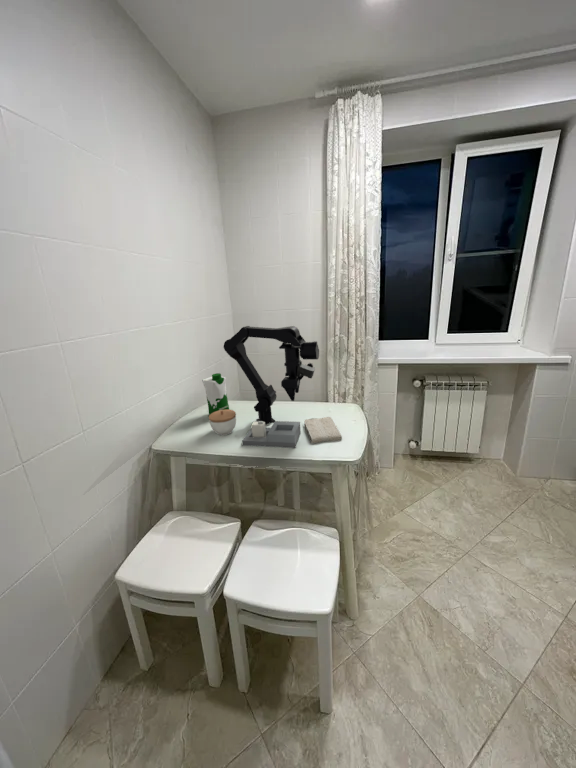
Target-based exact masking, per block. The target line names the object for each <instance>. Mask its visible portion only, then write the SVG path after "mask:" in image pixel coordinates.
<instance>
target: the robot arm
mask: <svg viewBox="0 0 576 768" xmlns="http://www.w3.org/2000/svg"><path fill="white" fill-rule="evenodd" d="M249 338H255V339H256V338H260V339H271V340H276V341H277V342H281V345H280V346H279V347H278V349H279V350H282V349H283V350H284V358H285V359H284V360H285V362H284V367H285V373H284V375H285V377H284V378H283V379H282V380H281V381H280V385H281V388H283V389H284V391H285V392H286V394H287V396H288V397H289V399H290V401H291V402H294V401H295V400H296V398H295V397H296V394H298V393H299V391H300V385H301V380H302V379H303V378H304V377H306V378H308V379H312V378H313V377H314V373H315V371H316V368H315V367H314V364H313V363H311V362H308V364H303V361H302V360H319V357H320V348H319V344H318V341H317V340H315V341H314V340H313V341H306V340H305V338H304V337H303V336H302V335H301V333H300V329H298V327H297V326H294V325H293V326H292V325H291V326H284V327H278V328H275V327H263V326H262V327H259V326H250V325H246V326H243V327H241V328H240V329H239V331H237V332H236V333H235V334H234V335H233V336H232V337H231V338H229V339H227V340H225V341H224V342H223V347H222V348H223V350H224V351H225V353H226V354H227V356H229V357H230V358H232V359H233V360H235V361H236V362H237V364H238V365H239V367H240V368H241V370H242V371H243V374H245V376H246V377H247V379H248V381H249V382H250V384H251V386H253V389H254V391H255V396H256V397H255V398H256V399H257V401H258V402H257V403H256V404H255V405H254V407H253V409H254V412H257V414H258V415H257V416H258V418H256V419H255V422H258V421H263V422H265V425H269V424H271V423H272V424H273V423H274V422H275V421H276V420H275V419H274V418H273V416H272V406H273V404H274V403H275V401H276V400H277V391H276V390H275V388H274V387H273V385H272V384H269V385H268V384H267V383H265V382H264V380H263V378H262V377H261V375H260V374H259V372H258V370H257V369H256V368H255V366H254V364H253V363H252V362H251V359H250V357H248V355H247V351H246V346H245V343H246V341H247V340H248V339H249ZM301 359H302V360H301Z"/></svg>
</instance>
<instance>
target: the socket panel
mask: <svg viewBox="0 0 576 768" xmlns="http://www.w3.org/2000/svg"><path fill="white" fill-rule="evenodd" d="M301 434H302V433H301V422H300V421H289V420H288V421H287V420H284V421H283V420H275V422H273V423H272V425H271V427H266V435H267V436H266V438H264V437H253V434H252V426H251V427H250V429H249V430H248V432H247V433H246V435H245V436H244V437H243V438H242V440H241V444H242V446H244V447H245V446H246V447H264V448H265V447H269V448H289V449H290V448H291V449H296V447H297V444H298V442H299V439H300V436H301Z"/></svg>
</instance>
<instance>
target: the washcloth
mask: <svg viewBox="0 0 576 768" xmlns="http://www.w3.org/2000/svg"><path fill="white" fill-rule="evenodd" d="M303 421H304V427H305V431H306V433H307V436H308V438H309V441H310V442H311V443H312V444H316V443H323V442H335V441H340V440H342V439H343V436H342V434H341V432H340V431H339V429H338V427H337V425H336V424H335V422H334V420H333V418H332V417H331V416H325V417H324V416H323V417H320V418H313V417H312V418H306V419H304V420H303Z"/></svg>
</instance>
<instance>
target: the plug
mask: <svg viewBox="0 0 576 768" xmlns="http://www.w3.org/2000/svg"><path fill="white" fill-rule="evenodd" d="M251 427H252V434H253V437H264V438H266V436H267V435H266V428H267V427H266V424H265V422H263V421H258V422H257V421H253V422H252V424H251Z"/></svg>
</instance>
